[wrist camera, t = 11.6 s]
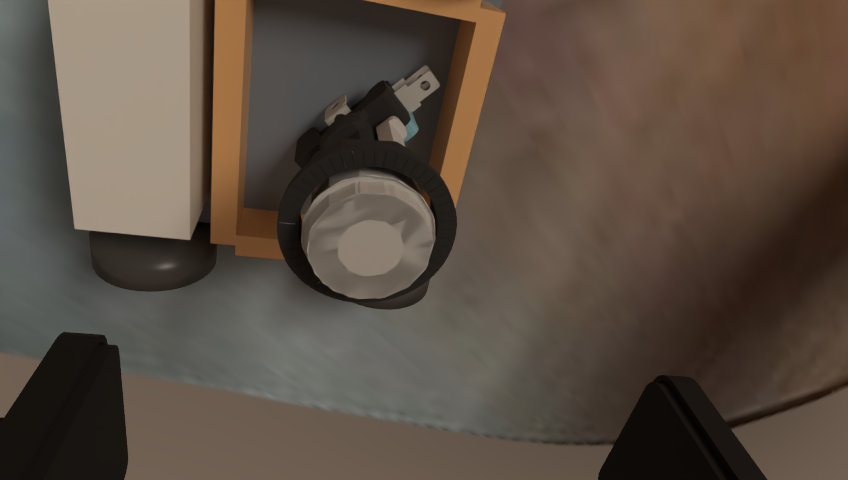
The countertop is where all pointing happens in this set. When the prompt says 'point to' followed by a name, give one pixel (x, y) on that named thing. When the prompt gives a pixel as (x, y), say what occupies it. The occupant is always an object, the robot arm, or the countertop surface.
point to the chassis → (241, 114)
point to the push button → (367, 200)
